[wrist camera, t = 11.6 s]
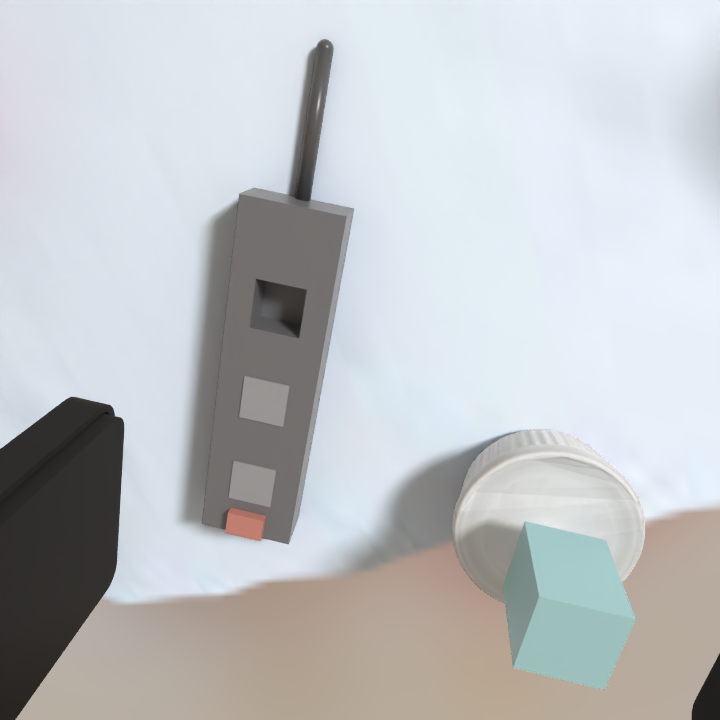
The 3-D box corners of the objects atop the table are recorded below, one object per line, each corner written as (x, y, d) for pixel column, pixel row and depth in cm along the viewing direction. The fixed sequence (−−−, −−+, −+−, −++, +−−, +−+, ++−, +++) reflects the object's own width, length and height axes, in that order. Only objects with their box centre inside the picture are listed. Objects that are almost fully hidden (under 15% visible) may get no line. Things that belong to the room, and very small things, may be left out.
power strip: (273, 29, 35) (255, 20, 32) (382, 51, 35) (375, 44, 31) (216, 499, 46) (198, 529, 43) (298, 518, 46) (286, 549, 43)
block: (520, 501, 37) (539, 596, 30) (597, 518, 37) (635, 619, 30) (500, 563, 39) (512, 667, 32) (574, 580, 39) (604, 689, 31)
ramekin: (560, 379, 40) (576, 416, 35) (658, 506, 42) (685, 558, 37) (417, 471, 44) (413, 516, 39) (514, 583, 46) (522, 640, 41)
